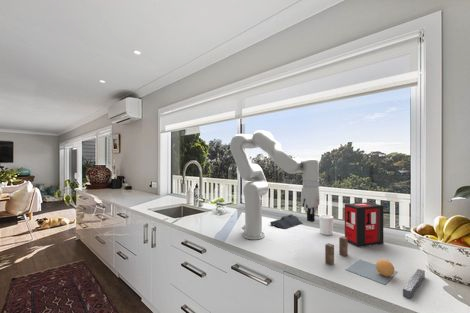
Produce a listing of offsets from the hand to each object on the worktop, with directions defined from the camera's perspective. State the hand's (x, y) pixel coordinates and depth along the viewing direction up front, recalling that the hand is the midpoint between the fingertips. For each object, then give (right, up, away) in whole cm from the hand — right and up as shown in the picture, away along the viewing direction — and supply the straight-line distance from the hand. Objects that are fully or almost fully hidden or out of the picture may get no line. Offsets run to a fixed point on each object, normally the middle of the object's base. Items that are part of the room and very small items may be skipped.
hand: (310, 221), depth 112 cm
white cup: (+17, -14, +23) cm, 32 cm away
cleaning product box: (+31, -14, +9) cm, 36 cm away
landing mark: (+17, -14, -21) cm, 30 cm away
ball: (+21, -11, -24) cm, 34 cm away
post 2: (+13, -14, -6) cm, 20 cm away
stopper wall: (+26, -14, -31) cm, 43 cm away
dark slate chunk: (-3, -15, +43) cm, 45 cm away
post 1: (+3, -14, -14) cm, 20 cm away
